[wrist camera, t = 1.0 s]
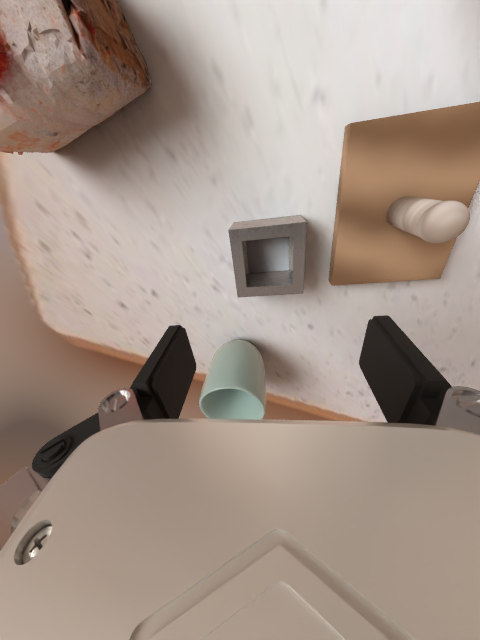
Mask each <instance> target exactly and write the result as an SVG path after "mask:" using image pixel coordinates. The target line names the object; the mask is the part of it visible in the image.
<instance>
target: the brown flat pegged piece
mask: <svg viewBox="0 0 480 640" xmlns="http://www.w3.org/2000/svg"><path fill="white" fill-rule="evenodd" d="M479 180H480V102H476V103H470V104H464V105H458V106H452V107H446V108H440V109H434V110H428V111H422V112H416V113H410V114H404V115H397V116H391V117H385V118H379V119H373V120H367V121H361V122H355V123H350V124H349V125H347V126H346V127H345V132H344V141H343V151H342V160H341V169H340V179H339V188H338V197H337V206H336V216H335V225H334V234H333V243H332V253H331V262H330V271H329V282H330V284H331V285H347V284H363V283H378V282H393V281H409V280H424V279H439V278H440V277H441V275H442V272H443V270H444V267H445V265H446V262H447V260H448V257H449V255H450V252H451V250H452V247H453V245H454V242H455V240H456V237H457V236H458V235H460V234H461V233H462V232H463V231H464V230H465V228H466V227H467V225H468V223H469V219H470V213H469V210H468V207H469V205H470V202H471V200H472V197H473V195H474V192H475V190H476V187H477V185H478V182H479Z"/></svg>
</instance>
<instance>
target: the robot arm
mask: <svg viewBox="0 0 480 640" xmlns="http://www.w3.org/2000/svg"><path fill="white" fill-rule="evenodd" d="M359 365H360V368H361V370H362V372H363V374H364V376H365V378H366V380H367V382H368V384H369V386H370V388H371V390H372V392H373V394H374V396H375V398H376V400H377V402H378V404H379V406H380V408H381V410H382V412H383V414H384V416H385V418H386V420H387V422H388V423H384V422H351V421H307V420H305V421H304V420H254V419H178V418H179V415H180V412H181V410H182V407H183V404H184V401H185V399H186V396H187V393H188V390H189V387H190V385H191V382H192V379H193V376H194V374H195V371H196V362H195V359H194V356H193V352H192V349H191V346H190V343H189V340H188V336H187V333H186V330H185V328H182V326H180V325H175V326H169V327H168V329H167V330H166V332H165V334H164V335H163V337H162V338H161V340H160V341H159V343H158V344H157V346H156V348H155V349H154V351H153V352H152V354H151V355H150V357H149V358H148V360H147V361H146V363H145V365H144V366H143V368H142V369H141V371H140V372H139V374H138V375H137V377H136V379H135V380H134V382H133V384H132V386H131V387H130V388H125V387H124V388H119V389H117V390H114V391H112V392H111V393H109V394H108V395H107V396H105V397H104V398H103V400H102V401H101V402H100V404H99V406H98V413H97V414H95V415H93V416H91V417H89V418H88V419H86V420H84V421H83V422H81V423H79V424H77V425H76V426H74V427H72V428H70V429H69V430H67V431H65V432H64V433H62V434H60V435H58V436H57V437H55V438H53V439H52V440H50V441H49V442H47V443H46V444H45V445H44V446H43V447H42V448H41V449H40V450H39V451H38V453H37V454H36V456H35V457H34V459H33V462H32V466H30V467H29V468H28V469H27V468H25V467H24V468H23V469H21V470H20V471H19V472H18V473H16V474H15V475H14V476H12V477H11V478H10V479H9V480H7V481H6V482H5V483H4V484H3V485H1V486H0V640H480V391H478V390H475V389H472V388H468V387H461V386H457V387H452V386H451V385H450V384H449V383H448V382H447V380H446V379H445V378H444V377H443V376H442V375H441V374H440V373H439V371H438V370H437V369H436V368H435V367H434V366H433V365H432V364H431V362H430V361H429V360H428V359H427V358H426V357H425V356H424V355H423V354H422V352H421V351H420V350H419V349H418V348H417V347H416V346H415V345H414V343H413V342H412V341H411V340H410V339H409V338H408V337H407V336H406V335H405V333H404V332H403V331H402V330H401V329H400V328H399V327H398V326H397V325H396V323H395V322H394V321H393V320H392V319H391V318H390V317H389V316H374V317H373V318H372V319H370V320H369V322H368V325H367V330H366V334H365V338H364V343H363V347H362V351H361V355H360V360H359Z"/></svg>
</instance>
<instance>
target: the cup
mask: <svg viewBox="0 0 480 640" xmlns="http://www.w3.org/2000/svg"><path fill="white" fill-rule="evenodd" d="M199 402H200V403H199V405H200V408H201V410H202V412H203V414H204V415H205V416H206V417H207V418H208V419H254V420H262V418H263V417H264V415H265V411H266V377H265V366H264V362H263V359H262V356H261V354H260V352H259V351H258V349H257V348H256V347H255V346H254V345H253V344H251V343H249V342H247V341H244V340H234V341H230V342H228V343H226V344H224V345H223V346H221V347H220V348H219V349H218V351H217V352H216V353H215V355H214V357H213V359H212V361H211V364H210V366H209V369H208V372H207V375H206V378H205V381H204V384H203V388H202V391H201V395H200V401H199Z"/></svg>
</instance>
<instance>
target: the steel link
mask: <svg viewBox="0 0 480 640" xmlns="http://www.w3.org/2000/svg"><path fill="white" fill-rule="evenodd" d="M229 237H230V244H231V251H232V259H233V266H234V273H235V280H236V288H237V295H238V297H251V296H268V295H284V294H300V293H303V290H304V267H305V244H306V221H305V220H304V219H303V217H302V216H301V215H296V216H287V217H279V218H270V219H261V220H252V221H243V222H234V223H233V224H232V226H231V227H230V229H229ZM279 237H289V271H276V272H263V273H250V274H249V268H248V258H247V248H246V241H248V240H259V239H269V238H279Z"/></svg>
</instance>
